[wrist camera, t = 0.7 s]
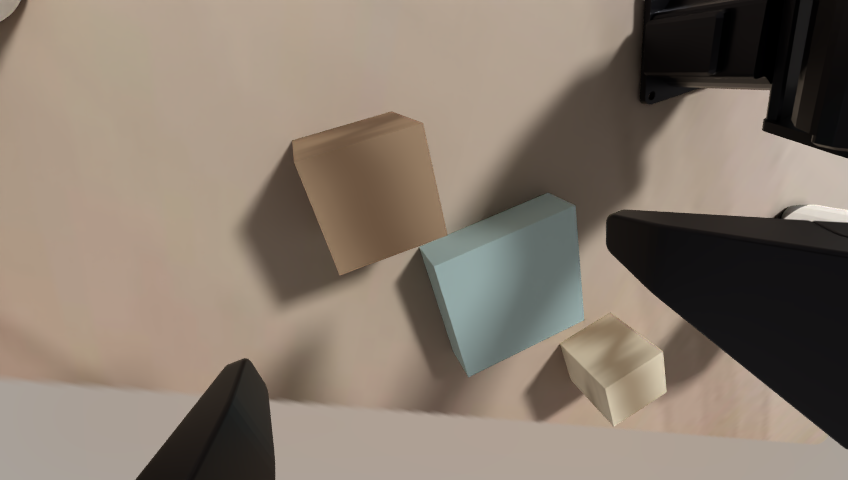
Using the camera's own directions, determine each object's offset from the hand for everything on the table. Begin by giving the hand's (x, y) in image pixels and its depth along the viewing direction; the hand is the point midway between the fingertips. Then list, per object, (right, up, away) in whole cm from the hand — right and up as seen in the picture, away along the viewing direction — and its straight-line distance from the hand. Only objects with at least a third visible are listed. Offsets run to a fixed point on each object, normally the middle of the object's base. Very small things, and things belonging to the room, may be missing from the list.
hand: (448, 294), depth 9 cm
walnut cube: (-4, +5, +11) cm, 12 cm away
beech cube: (+14, -8, +23) cm, 28 cm away
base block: (+4, -1, +17) cm, 17 cm away
